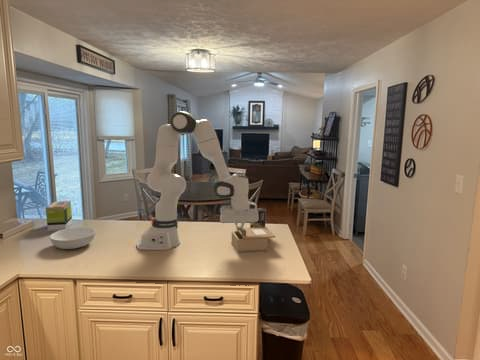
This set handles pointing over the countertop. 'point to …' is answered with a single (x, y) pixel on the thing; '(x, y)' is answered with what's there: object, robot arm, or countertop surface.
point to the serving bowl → (72, 237)
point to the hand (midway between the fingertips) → (239, 230)
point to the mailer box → (248, 243)
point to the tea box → (59, 215)
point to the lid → (256, 233)
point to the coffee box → (261, 219)
